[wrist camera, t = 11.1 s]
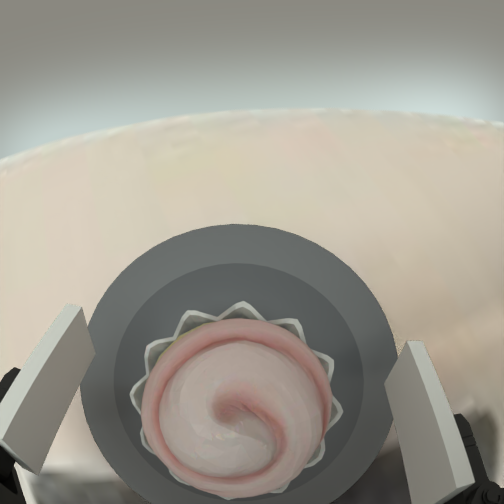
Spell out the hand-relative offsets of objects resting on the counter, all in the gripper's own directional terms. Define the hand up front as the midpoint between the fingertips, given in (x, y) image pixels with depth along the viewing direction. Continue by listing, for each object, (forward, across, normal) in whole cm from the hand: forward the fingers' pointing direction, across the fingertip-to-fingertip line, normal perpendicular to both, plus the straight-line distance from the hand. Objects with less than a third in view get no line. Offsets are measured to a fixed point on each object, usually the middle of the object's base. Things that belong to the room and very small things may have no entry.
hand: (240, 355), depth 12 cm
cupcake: (+3, 0, -6) cm, 7 cm away
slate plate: (+4, 0, -7) cm, 8 cm away
